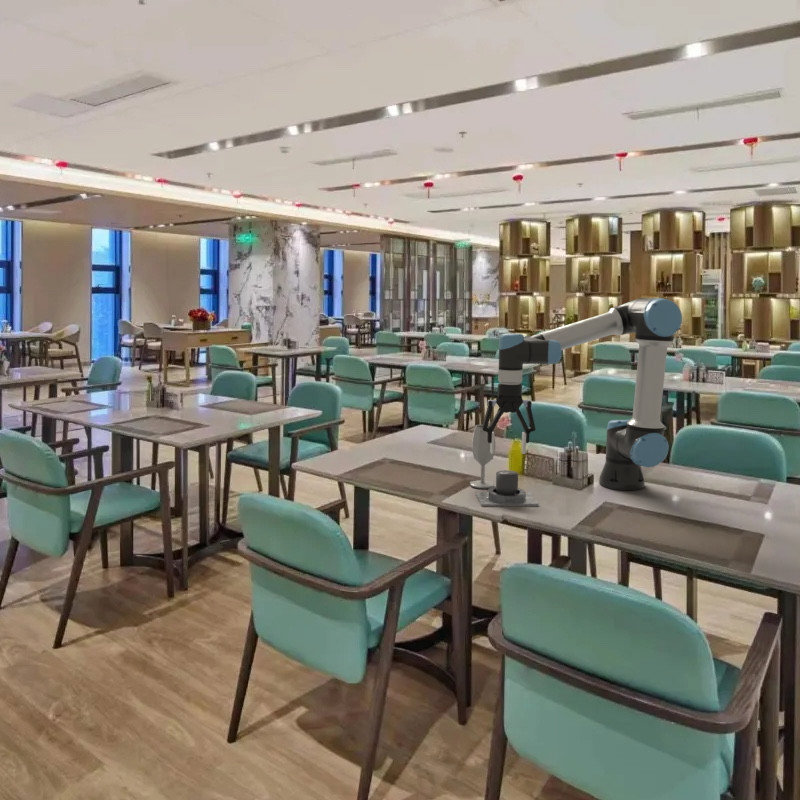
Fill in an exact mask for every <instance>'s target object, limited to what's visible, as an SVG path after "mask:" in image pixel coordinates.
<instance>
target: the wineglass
mask: <svg viewBox="0 0 800 800" xmlns="http://www.w3.org/2000/svg"><path fill="white" fill-rule="evenodd" d="M482 425H483V424H475V427H474V429H473V434H472V439H471V452H472V455H473V459H474V460H475V461H476V462H477V463H478V464H480V480H472V481H469V483H470V487H473V488H474V489H475V488H476V489H484V490H485V489H487V490H488V489H490V488H492V487H496V484H495V482H494V481H490V480H485V475H486V474H485V472H486V470H485V469H486V465H488V464H489V463H490V462H491V461H492V460H493V459H494V456H495V453H496V437H495V436H494V454H491V452H490V443H488V441H487V432H486V431H483V430H482ZM489 426H490V424H488V427H489ZM488 427H487V428H488ZM492 432H494V433H495V431H494V430H493V431H492Z"/></svg>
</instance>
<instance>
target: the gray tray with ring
mask: <svg viewBox="0 0 800 800" xmlns="http://www.w3.org/2000/svg"><path fill="white" fill-rule="evenodd" d="M475 496H476V498H477V500H478V502H479V504H480V506H481V507H539V502H538V500H537V499H536V498H535V497H534V496H533V495H532V493H531V492H530V491H528V492H526V491H525V490H524V489H522V488H520V487H518V494H515V495H503V494H497V493H496V486H495V487H492V488H488V489H487V491H486V492H485V491H483V492H482V491H481V492H478V491H477V492H475Z"/></svg>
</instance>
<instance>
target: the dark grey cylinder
mask: <svg viewBox="0 0 800 800" xmlns="http://www.w3.org/2000/svg"><path fill="white" fill-rule="evenodd" d="M495 475H496V476H495V487H496V493H497V494H503V495H515V494H518V488H519V473H518V472H516V471H514V470H508V469H507V470H504V469H503V470H499V471H496V473H495Z"/></svg>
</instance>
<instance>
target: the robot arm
mask: <svg viewBox="0 0 800 800" xmlns="http://www.w3.org/2000/svg"><path fill="white" fill-rule="evenodd" d="M682 321H683V315H682V311H681V309H680V306H678V304H677V303H675V302H674V301H673V300H671V299H667V298H662V297H656V298H655V297H641V298H636V299H634V300H630V301H628V302H625V303H622V304H620V305H617V306H614V307H611V308H609V310H608V311H607V312H605V313H601V314H598V315H595V316H591V317H587V318H586V319H582V320H579V321H576V322H572V323H569V324H566V325H563V326H559V327H556V328H553V329H550V330H546V331H544V332H540V333H537V334H534V335H531V336H525V335H524V334H522V333H501V335H500V336H499V342H498V371H497V372H498V374H497V381H498V382H499V383H498V384H497V397H496V399H487V401H486V402H487V403H486V404H487V408H486V411H485V415H484V417H483V418H484V419H483V421H482V424H481V425H482V430H483V431H486V432H487V441H488V443H490V452H491V454H494V455H495V453H494V437H495V431H494V429H495V428H496V426H497V425H498V423H499V421H500V419H501V417H502V416H503V414H507V413H512V414H513V413H515V414H516V416H517V419H518V420H519V422H520V425H521V427H522V428H523V430H524V431H522V432H521V454H522V455H526V450H527V449H526V447H527V444H529V443H530V434H531V433H532V432H535V431H536V429H537V428H536V425H535V420H534V415H533V411H532V404H533V403H532V401H531V400H530V399H527V400H526V399H523V396H522V395H523V394H522V393H523V384H521V383H522V382H523V371H524V368H523V367H524V365H555V364H556V365H557V364H558V363H559V362H560V361H561V358H562V351H563V350H567V349H570V348H574V347H577V346H579V345H582V344H583V345H584V344H586V343H590V342H593V341H596V340H600V339H602V338H606V337H608V336H609V337H610V336H613V335H616V336H619V337H620V336H623V335H626V334H635V335H634V336H635V337H634V340H635V342H637V343H638V356H637V357H638V359H637V364H636V365H637V366H636V368H637V369H636V378H635V389H634V398H633V409H632V417H631V418H630V419H611V420H609V421H608V422H607V428H606V440H605V441H606V447H605V463H604V465H603V467H602V470H601V471H600V475H599V478H598V481H599V483H598V484H599V485H600V486H602V487H605V488H607V489H612V490H617V491H637V490H642V489H644V488H645V476H644V473H643V470H642V467H644V468H653V467H657V466H658V465H660V464H662V462H663V461H664V460H666V457H667V455H668V453H669V450H670V448H669V447H670V445H669V441H668V440H667V438H666V437H665V436H664V434H665V425H664V424H663V422H661V414H662V411H661V410H662V403H663V395H664V384H665V382H664V381H665V375H666V365H667V353H668V347H669V346H670V345H671V344H673V342H674V336H675V335H674V334H676V333H677V331H678V330H679V329H680V328H681V326H682V323H683V322H682ZM495 405H497V406H498V409H497V411H496V413H495V415H494V417H493V418H492V420H491V422H490V419H491V416H492V413H493V408H494V407H495ZM522 405H523V406H524V407H525V411H526V415H527V419H528V420H527V421H528V425H527V422H526V421H525V419H524V417H523V414H522V412H521V410H520V408H521V406H522ZM489 423H490V424H489ZM488 425H490V426H489V427H488ZM528 426H529V427H528ZM487 427H488V428H487ZM492 431H494V432H492Z"/></svg>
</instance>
